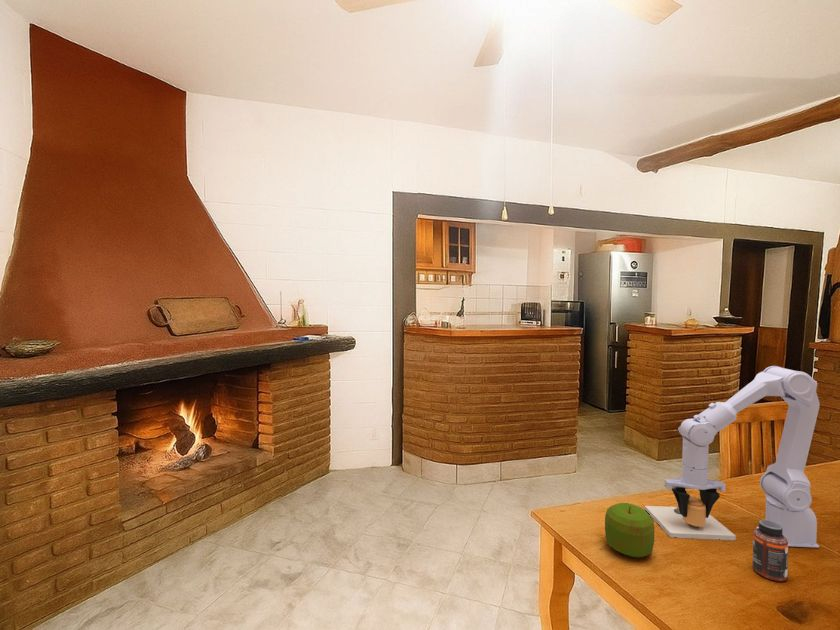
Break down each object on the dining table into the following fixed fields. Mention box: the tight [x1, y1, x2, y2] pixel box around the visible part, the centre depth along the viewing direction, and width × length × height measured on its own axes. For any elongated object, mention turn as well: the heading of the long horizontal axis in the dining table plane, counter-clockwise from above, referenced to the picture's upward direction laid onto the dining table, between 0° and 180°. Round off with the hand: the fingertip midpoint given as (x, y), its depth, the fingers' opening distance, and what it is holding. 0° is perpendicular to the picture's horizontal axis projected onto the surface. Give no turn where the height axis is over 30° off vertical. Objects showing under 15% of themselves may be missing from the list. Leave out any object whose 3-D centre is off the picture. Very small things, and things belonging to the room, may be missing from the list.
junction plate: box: [644, 502, 737, 541], centre depth 111 cm, size 16×14×4 cm
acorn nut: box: [683, 496, 706, 527], centre depth 107 cm, size 5×5×6 cm
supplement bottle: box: [752, 519, 789, 582], centre depth 90 cm, size 6×6×11 cm
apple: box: [604, 502, 655, 559], centre depth 99 cm, size 11×11×11 cm
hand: (693, 515), depth 108 cm, fingers closed on acorn nut, 5 cm apart
